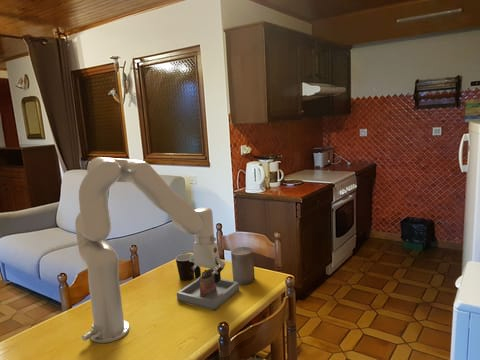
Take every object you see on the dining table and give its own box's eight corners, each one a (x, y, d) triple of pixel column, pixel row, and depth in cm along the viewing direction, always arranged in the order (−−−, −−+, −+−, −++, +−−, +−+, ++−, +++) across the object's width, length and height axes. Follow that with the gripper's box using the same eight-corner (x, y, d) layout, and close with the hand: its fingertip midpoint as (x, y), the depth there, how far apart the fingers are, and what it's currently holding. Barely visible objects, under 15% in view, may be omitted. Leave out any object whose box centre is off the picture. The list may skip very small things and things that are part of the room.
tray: (214, 310, 134) (214, 302, 134) (177, 301, 144) (176, 292, 143) (239, 290, 150) (238, 282, 149) (203, 282, 159) (203, 274, 158)
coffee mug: (186, 272, 170) (185, 252, 168) (200, 276, 165) (198, 255, 163) (168, 282, 161) (166, 261, 159) (182, 286, 156) (180, 264, 154)
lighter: (203, 298, 142) (202, 274, 140) (197, 295, 145) (196, 272, 143) (218, 290, 148) (217, 268, 146) (212, 287, 150) (212, 265, 148)
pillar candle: (256, 275, 163) (253, 243, 160) (253, 285, 153) (251, 251, 151) (234, 275, 164) (232, 244, 162) (231, 285, 155) (228, 251, 152)
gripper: (228, 238, 141) (230, 279, 144) (193, 233, 150) (196, 272, 153) (217, 244, 135) (220, 287, 138) (181, 239, 144) (184, 279, 147)
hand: (207, 279), depth 145 cm, fingers open, 9 cm apart
